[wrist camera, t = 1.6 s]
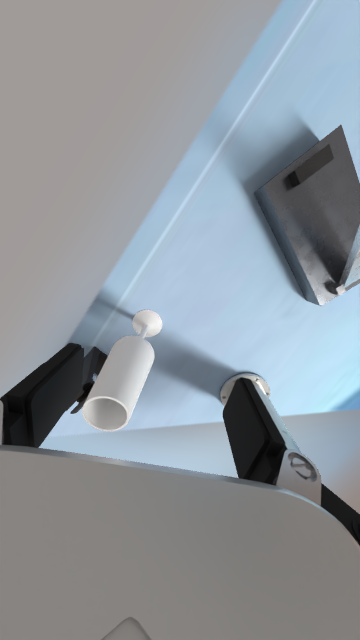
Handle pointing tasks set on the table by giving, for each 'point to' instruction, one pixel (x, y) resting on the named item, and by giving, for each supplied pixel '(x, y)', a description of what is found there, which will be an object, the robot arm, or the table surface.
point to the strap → (352, 263)
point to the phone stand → (88, 376)
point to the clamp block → (316, 215)
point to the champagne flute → (122, 376)
